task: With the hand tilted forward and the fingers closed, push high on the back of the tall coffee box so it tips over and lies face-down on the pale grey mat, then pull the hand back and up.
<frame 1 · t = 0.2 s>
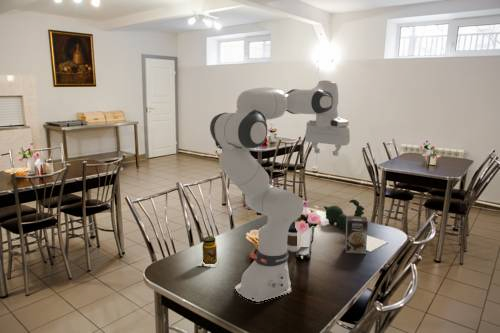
hand: (326, 154, 155), 48 cm above the table, tool pointing down, fingers open, 8 cm apart
condiment: (208, 264, 162), on the table
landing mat: (367, 243, 182), on the table
food container: (309, 240, 187), on the table
toy figurine: (341, 227, 203), on the table
coffee box: (355, 250, 173), on the table, touching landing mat
coffee cup: (293, 249, 176), on the table
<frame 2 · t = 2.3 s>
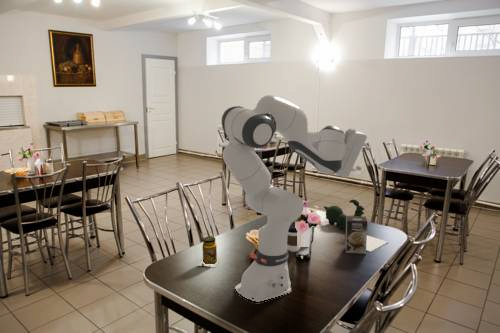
hand: (365, 158, 157), 45 cm above the table, tool tilted 70°, fingers open, 8 cm apart
nothing on the table moved.
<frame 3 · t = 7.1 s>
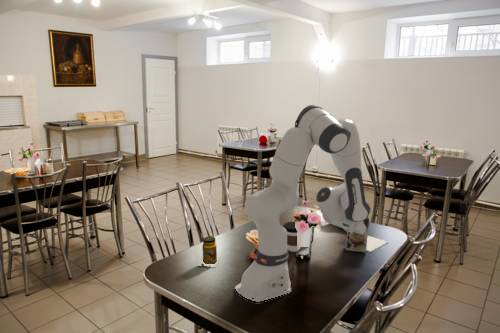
hand: (349, 230, 169), 11 cm above the table, tool tilted 45°, fingers closed
coffee box: (355, 249, 173), point 1 cm above the table, touching gripper, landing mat
everything else where it was.
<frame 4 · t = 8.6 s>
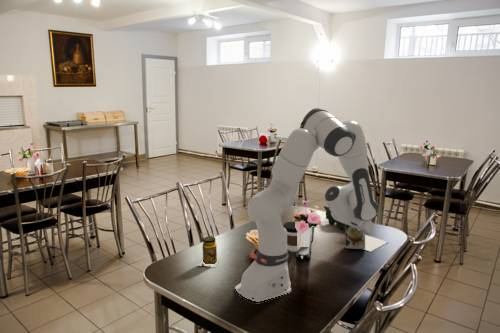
hand: (357, 228, 170), 11 cm above the table, tool tilted 45°, fingers closed
coffee box: (355, 248, 174), point 1 cm above the table, touching gripper, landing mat
everything else where it was.
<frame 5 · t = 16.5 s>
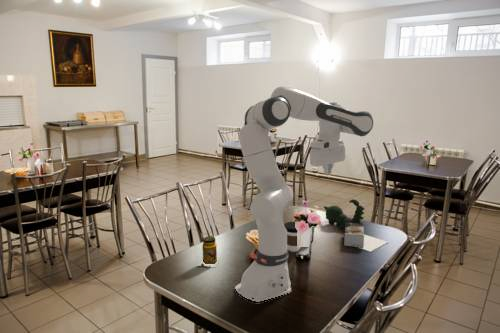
hand: (327, 173, 158), 39 cm above the table, tool pointing down, fingers closed
coffee box: (354, 240, 176), point 4 cm above the table, touching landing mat
everything else where it was.
at the end: coffee box tilted 90°; coffee box touching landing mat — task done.
